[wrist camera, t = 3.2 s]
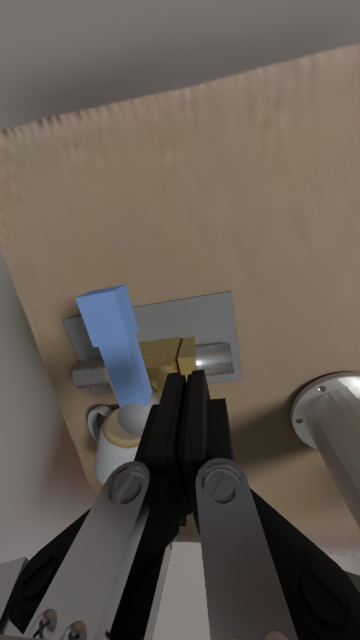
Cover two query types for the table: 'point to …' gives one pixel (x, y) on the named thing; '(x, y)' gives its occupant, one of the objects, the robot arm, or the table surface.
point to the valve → (162, 362)
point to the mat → (173, 328)
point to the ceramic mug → (111, 442)
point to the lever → (119, 353)
